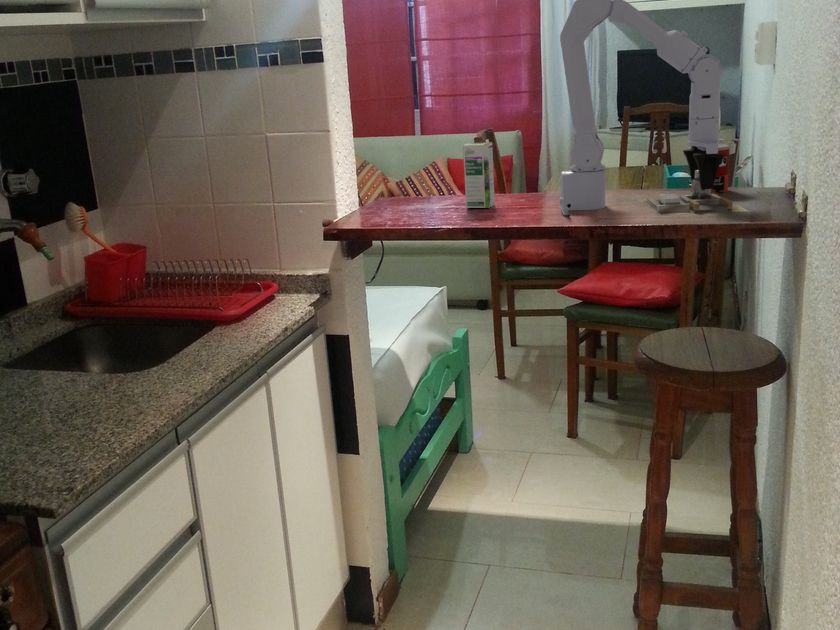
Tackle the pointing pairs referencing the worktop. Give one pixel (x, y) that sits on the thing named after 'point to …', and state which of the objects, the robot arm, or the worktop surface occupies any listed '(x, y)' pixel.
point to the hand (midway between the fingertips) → (702, 186)
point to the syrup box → (478, 175)
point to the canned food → (721, 172)
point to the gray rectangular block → (668, 199)
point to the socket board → (695, 205)
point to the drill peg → (699, 189)
